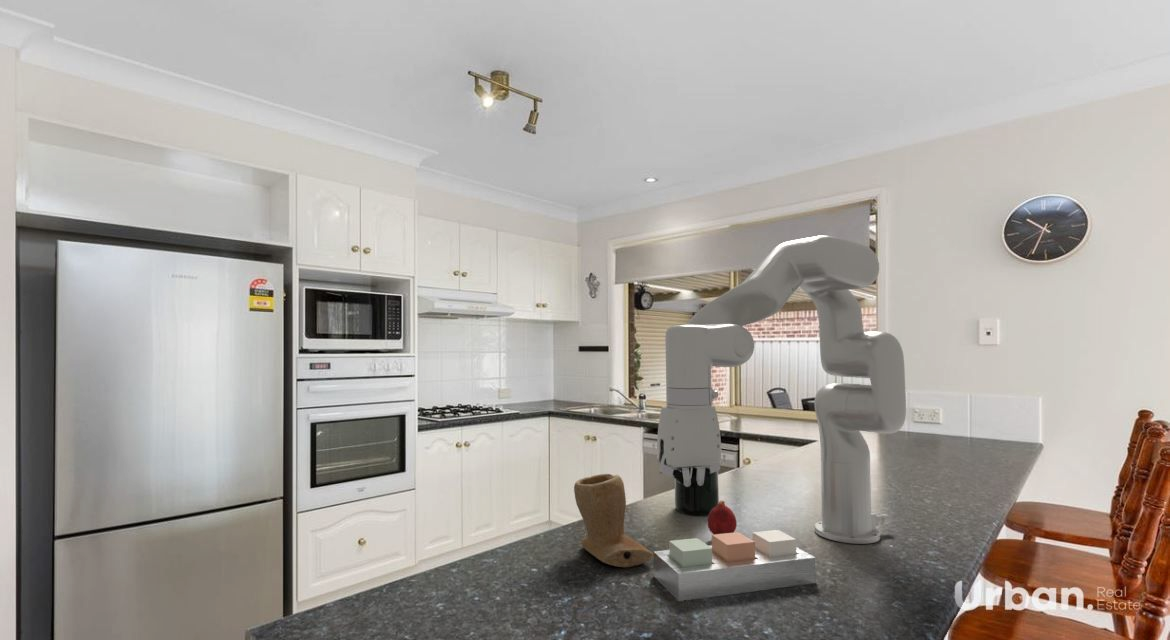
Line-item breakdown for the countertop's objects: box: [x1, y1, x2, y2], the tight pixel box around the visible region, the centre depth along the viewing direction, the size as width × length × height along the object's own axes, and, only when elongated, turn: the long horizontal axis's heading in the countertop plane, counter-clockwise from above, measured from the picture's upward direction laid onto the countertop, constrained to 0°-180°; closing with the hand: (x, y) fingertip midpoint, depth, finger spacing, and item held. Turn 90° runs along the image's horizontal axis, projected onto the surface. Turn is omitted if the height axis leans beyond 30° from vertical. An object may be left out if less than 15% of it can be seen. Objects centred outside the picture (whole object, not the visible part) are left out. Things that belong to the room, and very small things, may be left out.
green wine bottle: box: [674, 468, 720, 516], centre depth 138 cm, size 10×10×33 cm
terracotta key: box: [711, 531, 755, 563], centre depth 96 cm, size 5×5×3 cm
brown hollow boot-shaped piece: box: [573, 473, 654, 568], centre depth 107 cm, size 15×12×15 cm
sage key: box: [668, 537, 712, 568], centre depth 94 cm, size 5×5×3 cm
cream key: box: [752, 529, 797, 558], centre depth 98 cm, size 5×5×3 cm
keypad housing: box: [652, 544, 817, 602], centre depth 96 cm, size 25×10×4 cm, turn 106°
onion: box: [707, 500, 737, 535], centre depth 116 cm, size 6×6×8 cm
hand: (690, 508), depth 94 cm, fingers closed
